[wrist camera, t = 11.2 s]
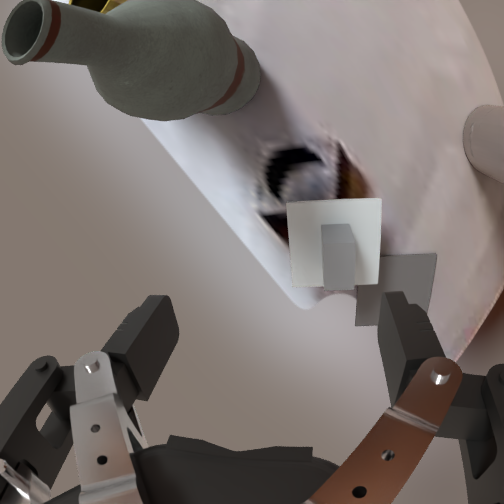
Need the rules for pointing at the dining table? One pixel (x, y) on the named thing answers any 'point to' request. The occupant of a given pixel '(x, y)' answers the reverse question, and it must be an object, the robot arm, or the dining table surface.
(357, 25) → the dining table surface
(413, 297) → the mat
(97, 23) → the bottle
